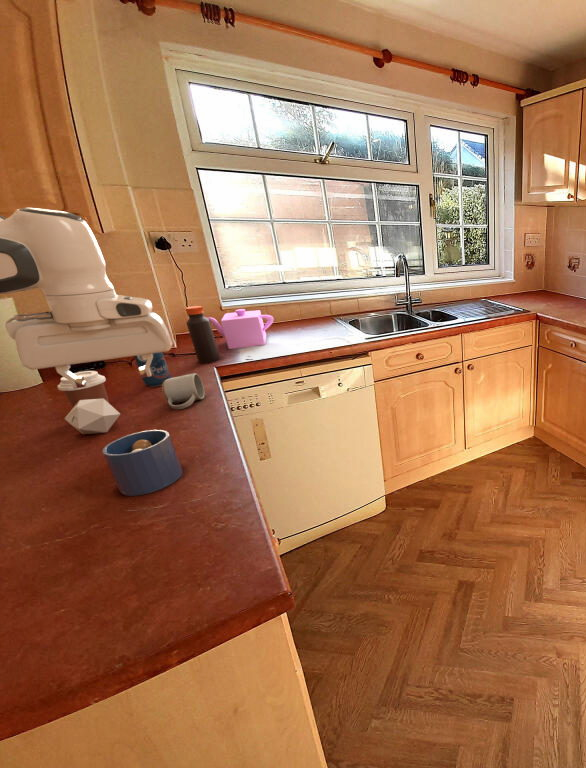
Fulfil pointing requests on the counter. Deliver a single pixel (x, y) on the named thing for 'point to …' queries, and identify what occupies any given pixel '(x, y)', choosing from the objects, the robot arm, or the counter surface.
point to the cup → (143, 463)
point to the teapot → (243, 328)
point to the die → (92, 416)
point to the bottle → (202, 335)
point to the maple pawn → (141, 444)
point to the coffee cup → (84, 388)
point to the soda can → (155, 369)
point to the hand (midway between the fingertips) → (114, 381)
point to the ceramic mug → (183, 390)
